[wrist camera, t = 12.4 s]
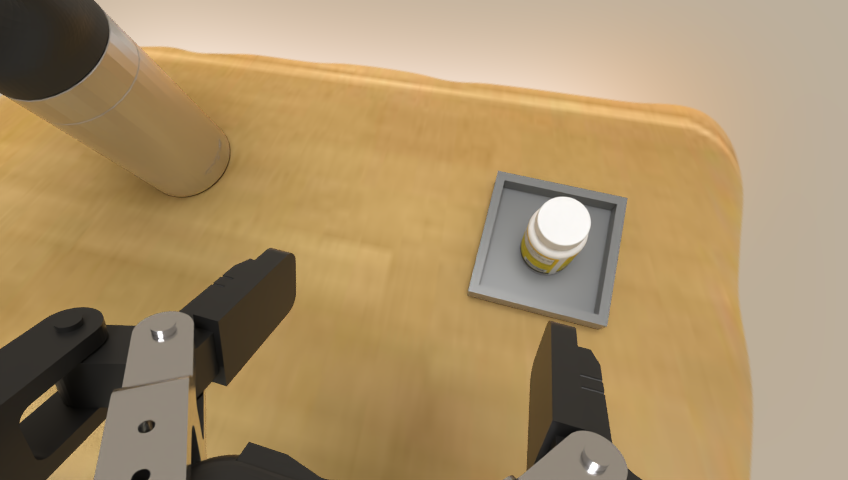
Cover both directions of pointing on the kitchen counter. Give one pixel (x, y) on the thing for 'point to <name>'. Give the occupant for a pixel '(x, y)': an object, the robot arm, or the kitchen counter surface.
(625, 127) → the kitchen counter surface
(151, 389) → the robot arm
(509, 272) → the tray
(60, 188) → the kitchen counter surface
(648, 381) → the kitchen counter surface
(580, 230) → the supplement bottle
